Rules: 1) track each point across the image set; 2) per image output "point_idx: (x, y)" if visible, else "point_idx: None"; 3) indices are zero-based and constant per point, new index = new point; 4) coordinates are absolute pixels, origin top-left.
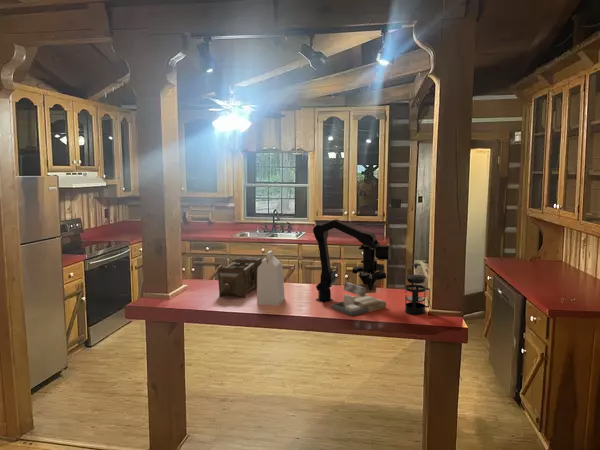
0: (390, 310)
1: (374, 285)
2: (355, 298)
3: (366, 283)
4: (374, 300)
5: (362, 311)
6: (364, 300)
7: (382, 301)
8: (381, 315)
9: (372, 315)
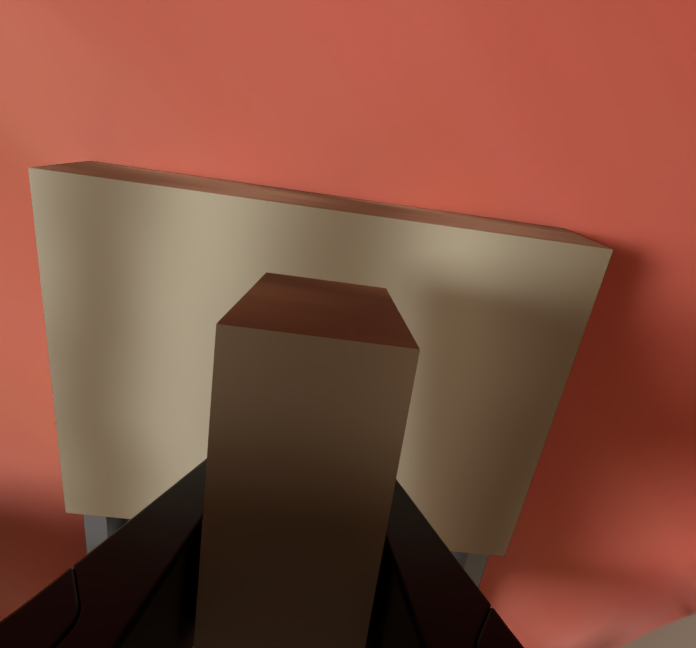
0: (677, 277)
1: (399, 433)
2: (134, 456)
3: (180, 636)
4: (418, 333)
5: None
6: None
7: (558, 281)
8: (661, 484)
9: (578, 539)
